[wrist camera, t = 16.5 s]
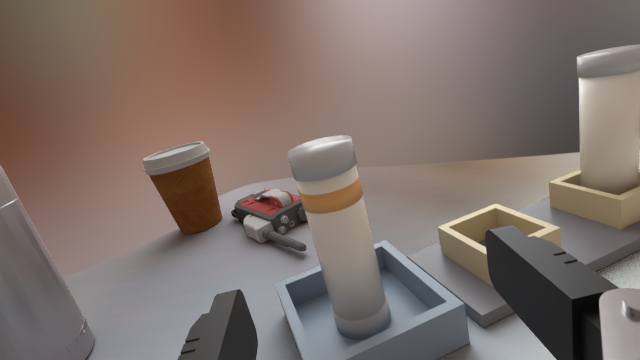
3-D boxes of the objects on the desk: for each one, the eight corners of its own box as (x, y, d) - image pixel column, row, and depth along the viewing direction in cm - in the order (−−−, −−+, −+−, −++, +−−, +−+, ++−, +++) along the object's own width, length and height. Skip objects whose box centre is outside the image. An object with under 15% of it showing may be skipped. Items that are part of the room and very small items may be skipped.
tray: (322, 417, 20) (309, 376, 19) (284, 314, 29) (274, 283, 28) (469, 342, 22) (464, 303, 21) (391, 269, 31) (385, 240, 30)
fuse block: (483, 328, 23) (477, 283, 22) (408, 265, 31) (402, 230, 30) (718, 210, 28) (723, 169, 27) (600, 184, 36) (600, 152, 35)
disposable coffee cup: (157, 242, 51) (123, 166, 48) (194, 213, 60) (168, 146, 56) (211, 237, 48) (180, 154, 45) (242, 207, 57) (218, 136, 53)
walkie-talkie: (221, 227, 52) (299, 265, 37) (211, 200, 51) (288, 227, 35) (270, 203, 57) (357, 227, 41) (262, 177, 56) (349, 193, 40)
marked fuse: (348, 348, 23) (295, 161, 19) (328, 313, 27) (280, 150, 23) (401, 323, 24) (362, 140, 20) (375, 292, 27) (337, 132, 24)
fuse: (616, 220, 28) (619, 54, 24) (568, 206, 32) (564, 60, 28) (651, 204, 29) (659, 42, 25) (601, 192, 33) (601, 48, 29)
